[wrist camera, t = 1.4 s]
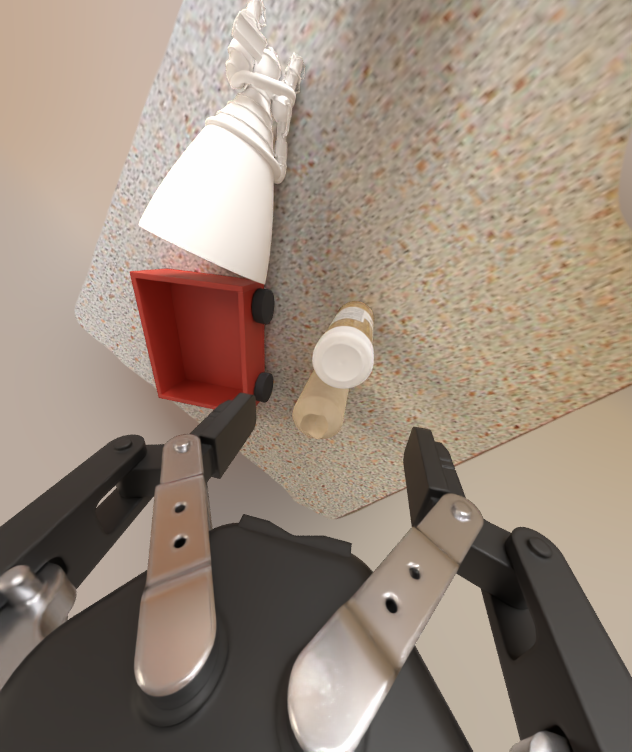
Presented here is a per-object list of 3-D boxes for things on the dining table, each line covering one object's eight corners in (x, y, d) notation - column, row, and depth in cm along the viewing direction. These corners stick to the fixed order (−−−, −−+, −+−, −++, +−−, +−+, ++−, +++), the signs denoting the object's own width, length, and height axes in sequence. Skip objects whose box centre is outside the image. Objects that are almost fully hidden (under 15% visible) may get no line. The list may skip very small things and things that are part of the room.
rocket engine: (224, -162, 12) (136, 229, 17) (374, 69, 19) (281, 294, 24) (191, -9, 20) (138, 222, 25) (304, 111, 28) (246, 272, 33)
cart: (166, 268, 32) (129, 271, 27) (264, 280, 30) (242, 286, 25) (185, 379, 40) (158, 397, 35) (264, 395, 38) (248, 416, 33)
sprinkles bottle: (371, 339, 31) (369, 394, 19) (334, 336, 31) (310, 387, 20) (376, 301, 29) (377, 335, 17) (337, 298, 29) (311, 329, 18)
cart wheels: (158, 272, 33) (132, 274, 29) (274, 287, 30) (261, 291, 27) (177, 374, 40) (158, 386, 36) (273, 393, 37) (262, 408, 34)
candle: (352, 398, 35) (345, 447, 26) (314, 401, 36) (295, 449, 28) (346, 361, 33) (335, 401, 24) (306, 366, 34) (282, 406, 25)
